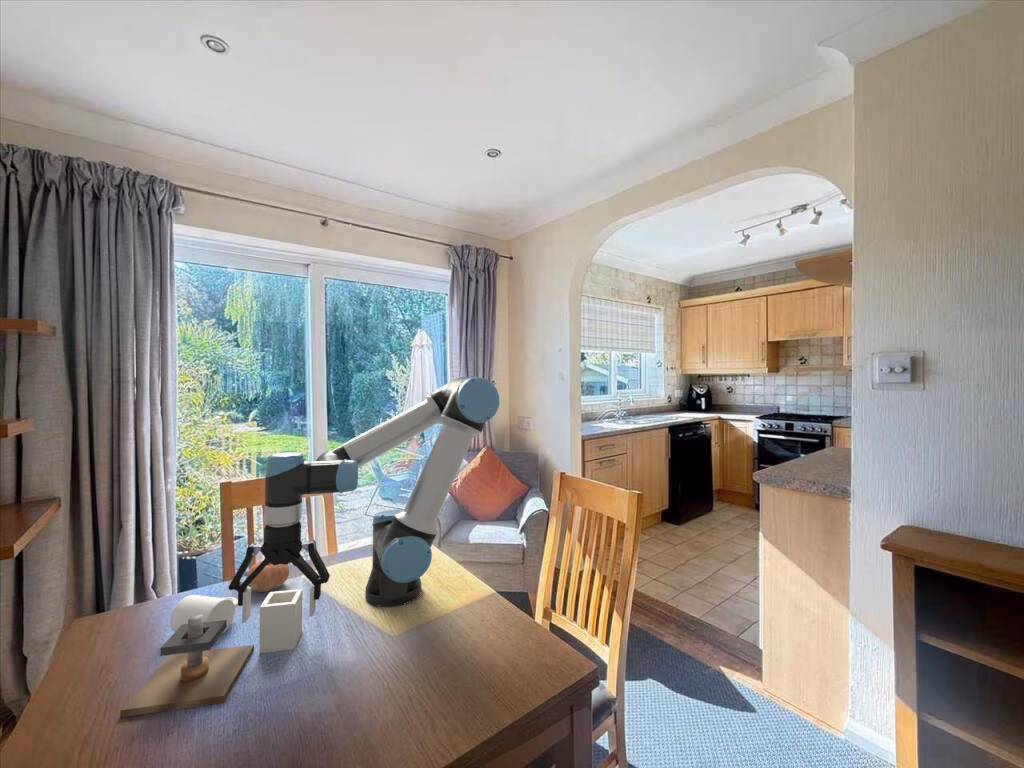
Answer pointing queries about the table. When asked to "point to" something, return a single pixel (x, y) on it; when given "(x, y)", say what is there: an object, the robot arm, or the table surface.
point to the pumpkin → (268, 577)
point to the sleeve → (280, 621)
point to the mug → (203, 610)
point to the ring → (193, 639)
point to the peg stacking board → (190, 677)
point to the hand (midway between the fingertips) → (279, 616)
